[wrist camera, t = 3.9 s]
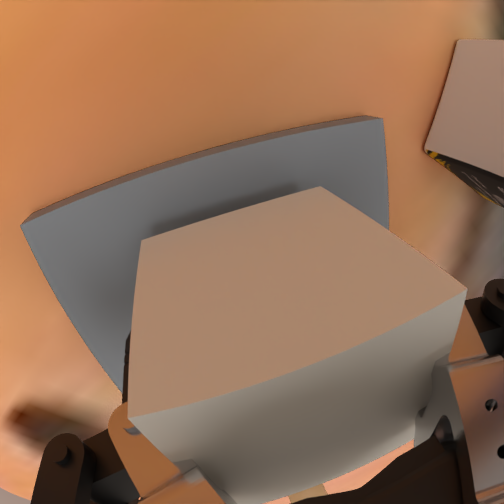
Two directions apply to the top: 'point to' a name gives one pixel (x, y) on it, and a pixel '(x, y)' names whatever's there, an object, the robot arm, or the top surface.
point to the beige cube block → (285, 343)
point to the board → (192, 217)
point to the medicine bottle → (473, 118)
